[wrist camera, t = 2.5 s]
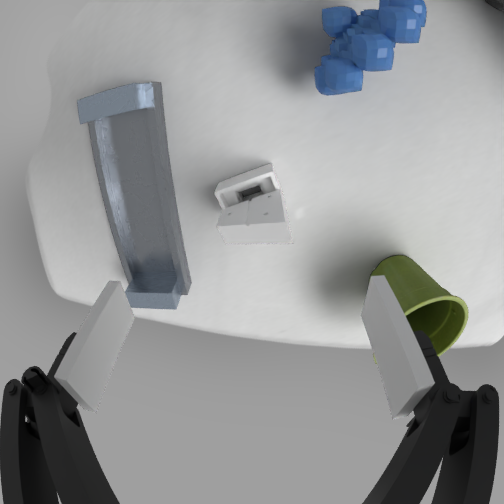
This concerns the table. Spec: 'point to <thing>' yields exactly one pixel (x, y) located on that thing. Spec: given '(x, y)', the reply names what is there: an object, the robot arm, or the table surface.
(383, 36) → the grapes
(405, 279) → the plant pot
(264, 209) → the white angled block
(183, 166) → the table surface
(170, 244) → the rail
